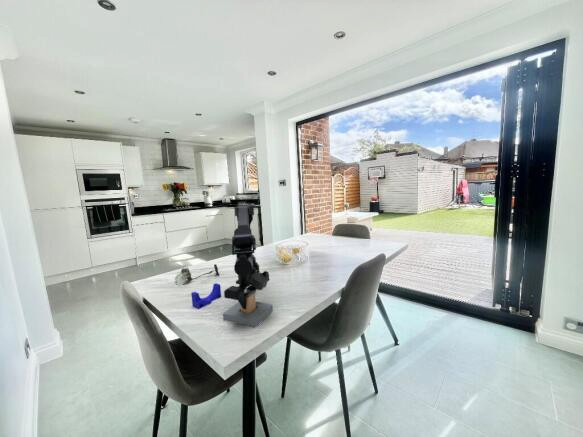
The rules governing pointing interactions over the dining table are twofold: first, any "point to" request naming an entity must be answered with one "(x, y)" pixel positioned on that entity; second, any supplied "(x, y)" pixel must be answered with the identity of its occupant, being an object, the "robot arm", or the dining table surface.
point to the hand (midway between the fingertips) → (248, 306)
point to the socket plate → (246, 318)
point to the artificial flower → (189, 275)
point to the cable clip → (202, 302)
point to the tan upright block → (249, 302)
